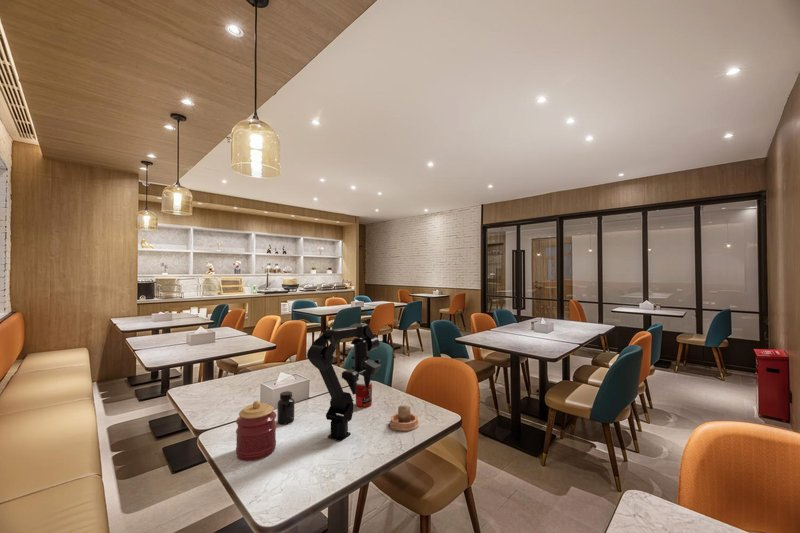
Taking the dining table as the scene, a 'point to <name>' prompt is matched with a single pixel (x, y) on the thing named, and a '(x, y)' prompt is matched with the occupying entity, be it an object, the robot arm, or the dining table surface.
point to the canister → (256, 432)
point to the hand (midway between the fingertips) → (360, 390)
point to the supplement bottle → (285, 408)
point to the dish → (404, 426)
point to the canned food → (363, 394)
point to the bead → (404, 414)
